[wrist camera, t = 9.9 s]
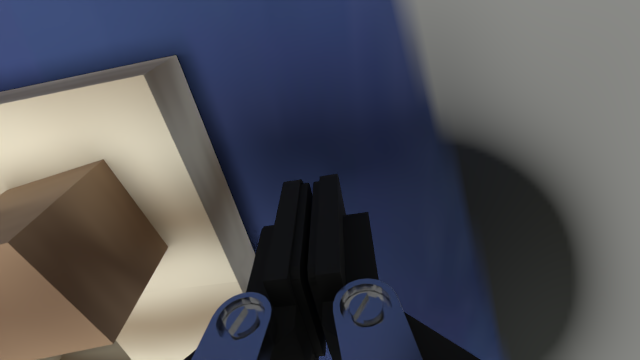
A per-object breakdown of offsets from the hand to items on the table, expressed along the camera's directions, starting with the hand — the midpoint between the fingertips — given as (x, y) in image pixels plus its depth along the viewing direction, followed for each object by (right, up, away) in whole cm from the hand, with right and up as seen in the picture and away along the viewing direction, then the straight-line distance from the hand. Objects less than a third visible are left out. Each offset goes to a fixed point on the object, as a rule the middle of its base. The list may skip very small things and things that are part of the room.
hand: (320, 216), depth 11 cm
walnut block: (-8, 0, +2) cm, 8 cm away
